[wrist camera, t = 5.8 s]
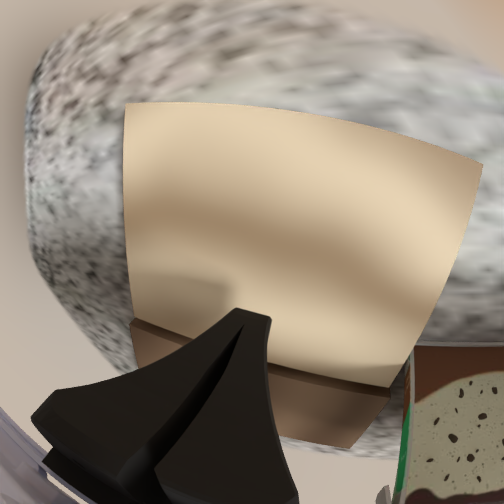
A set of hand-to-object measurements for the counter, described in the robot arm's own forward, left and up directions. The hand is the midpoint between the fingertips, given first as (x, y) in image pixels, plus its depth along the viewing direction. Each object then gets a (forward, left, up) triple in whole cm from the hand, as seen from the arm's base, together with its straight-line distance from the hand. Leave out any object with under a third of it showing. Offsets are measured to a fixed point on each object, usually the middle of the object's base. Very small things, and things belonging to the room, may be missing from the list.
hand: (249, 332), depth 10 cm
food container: (-13, -4, -4) cm, 14 cm away
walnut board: (-4, +6, -4) cm, 8 cm away
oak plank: (+1, -2, -4) cm, 4 cm away
